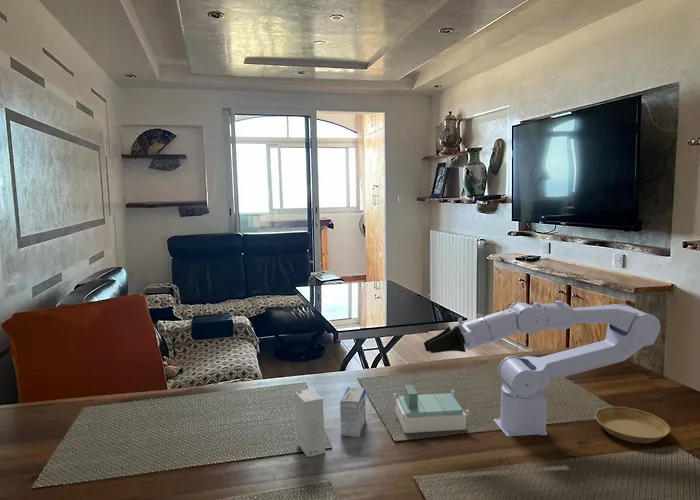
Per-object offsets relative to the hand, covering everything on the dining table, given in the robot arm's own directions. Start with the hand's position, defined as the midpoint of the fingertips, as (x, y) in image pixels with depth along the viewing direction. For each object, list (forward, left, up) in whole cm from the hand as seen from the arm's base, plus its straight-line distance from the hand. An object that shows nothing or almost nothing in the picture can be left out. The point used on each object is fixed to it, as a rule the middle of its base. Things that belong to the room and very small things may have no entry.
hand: (427, 347), depth 110 cm
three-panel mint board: (-2, -4, -16) cm, 16 cm away
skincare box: (+26, +4, -20) cm, 33 cm away
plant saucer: (-46, +5, -20) cm, 50 cm away
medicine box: (+16, -3, -20) cm, 26 cm away
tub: (-2, -4, -20) cm, 20 cm away
